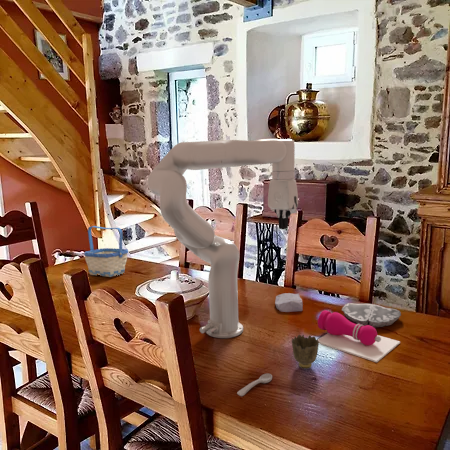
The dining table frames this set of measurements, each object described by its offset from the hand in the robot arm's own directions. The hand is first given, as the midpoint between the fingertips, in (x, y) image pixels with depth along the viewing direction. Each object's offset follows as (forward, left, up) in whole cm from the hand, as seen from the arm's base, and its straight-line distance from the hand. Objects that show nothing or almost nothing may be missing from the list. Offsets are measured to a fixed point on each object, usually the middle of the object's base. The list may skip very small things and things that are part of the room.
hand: (283, 228), depth 158 cm
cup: (-27, -27, -32) cm, 50 cm away
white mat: (-4, -31, -32) cm, 45 cm away
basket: (-13, +96, -32) cm, 102 cm away
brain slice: (+15, -26, -32) cm, 44 cm away
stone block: (+8, +4, -32) cm, 34 cm away
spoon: (-43, -23, -33) cm, 59 cm away
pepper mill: (-4, -18, -28) cm, 33 cm away
